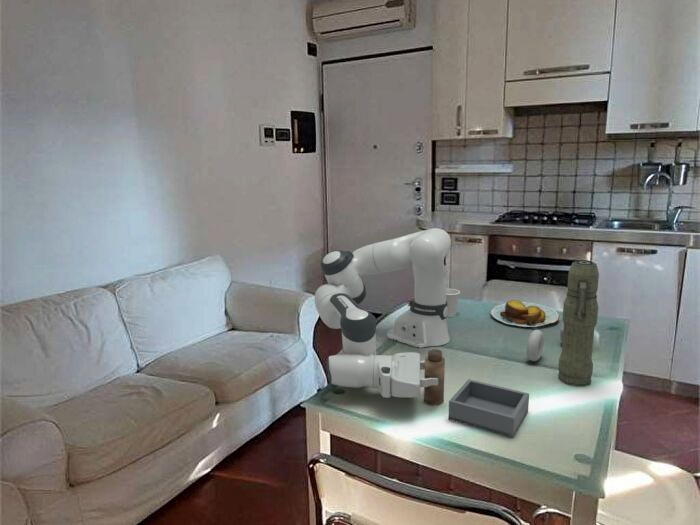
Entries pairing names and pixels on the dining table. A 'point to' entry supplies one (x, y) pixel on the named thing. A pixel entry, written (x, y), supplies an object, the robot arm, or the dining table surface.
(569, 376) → the thermos
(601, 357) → the dining table surface
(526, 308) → the food on plate
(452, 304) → the dixie cup
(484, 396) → the bin
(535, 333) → the donut
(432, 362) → the pepper mill
